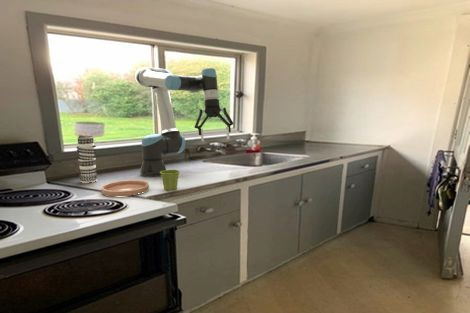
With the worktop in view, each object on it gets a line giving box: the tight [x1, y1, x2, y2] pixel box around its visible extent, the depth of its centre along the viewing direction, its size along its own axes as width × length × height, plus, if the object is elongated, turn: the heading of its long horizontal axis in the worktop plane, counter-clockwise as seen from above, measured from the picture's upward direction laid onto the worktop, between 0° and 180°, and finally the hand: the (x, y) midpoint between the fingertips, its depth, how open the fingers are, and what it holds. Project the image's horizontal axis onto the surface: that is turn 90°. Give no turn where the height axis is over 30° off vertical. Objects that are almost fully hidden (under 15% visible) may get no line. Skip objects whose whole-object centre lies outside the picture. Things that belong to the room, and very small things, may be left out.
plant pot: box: [160, 169, 181, 191], centre depth 146 cm, size 9×9×9 cm
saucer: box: [100, 179, 150, 197], centre depth 144 cm, size 21×21×2 cm
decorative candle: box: [76, 133, 98, 184], centre depth 160 cm, size 9×9×25 cm
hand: (215, 140), depth 157 cm, fingers open, 13 cm apart
